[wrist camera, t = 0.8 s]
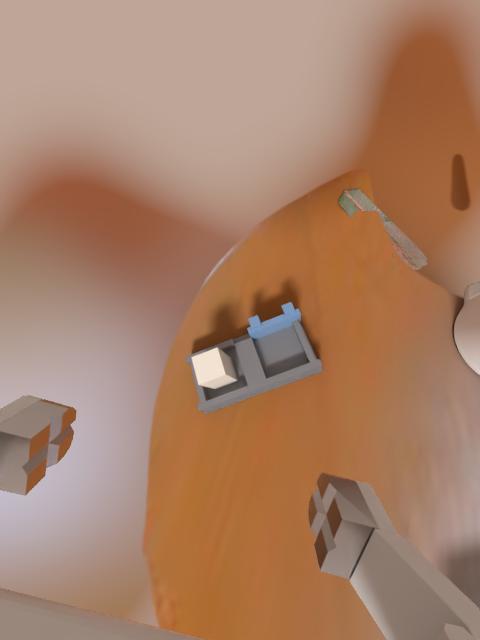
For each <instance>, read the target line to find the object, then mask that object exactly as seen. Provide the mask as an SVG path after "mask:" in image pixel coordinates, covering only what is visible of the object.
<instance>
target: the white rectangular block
mask: <svg viewBox="0 0 480 640" xmlns="http://www.w3.org/2000/svg"><path fill="white" fill-rule="evenodd" d="M191 358H192V362H193V366H194V370H195V373H196V377H197V381H198V385H201V386H205V387H209V388H213V389H218V388H221V387H224V386H226V385H229V384H232V383H234V382H237V381H238V377H237V374H236V371H235V368H234V365H233V362H232V359H231V357H229V356H228V355H227V354H225V353H224V352H223V351H222V350H220V349H219V348H218V347H217V348H214V349H212V350H209V351H207V352H204V353H201V354H199V355H196V356H194V357H191Z"/></svg>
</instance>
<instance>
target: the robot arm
mask: <svg viewBox="0 0 480 640" xmlns="http://www.w3.org/2000/svg"><path fill="white" fill-rule="evenodd" d="M454 338H455V342H456V345H457V348H458V350H459V352H460V354H461V356H462V357H463V359H464V360H465V361H466V363H467V364H468V365H469V366H470V367H471V368H472V369H473V370H474V371H475V372H476V373H478V374H479V375H480V282H477V283H474V284H471V285H469V286H468V287H467V288H466V289H465V293H464V305H463V308H462V309H461V311H460V313H459V314H458V316H457V318H456V321H455V325H454ZM75 419H76V410H75V409H74V408H73V407H69V406H65V405H62V404H59V403H55V402H52V401H48V400H45V399H44V400H43V399H40V398H36V397H33V396H23V397H21V398H19V399H17V400H16V401H14V402H12V403H10V404H9V405H7V406H5V407H3V408H1V409H0V490H3V491H7V492H12V493H16V494H21V495H26V494H27V493H28V492H29V491H30V490H31V489H32V488H33V487H34V486H35V485H36V484H37V483H38V482H39V481H40V480H41V479H42V478H43V477H44V476H45V471H46V468H47V467H50V466H52V465H55V464H57V463H58V461H60V460H61V459H62V458H63V457H64V455H65V454H66V452H67V450H68V449H69V447H70V445H71V442H72V439H73V434H74V431H73V429H72V427H71V426H70V424H71V423H72V422H73V421H74V420H75ZM317 485H318V490H317V491H315V492H314V493H312V496H311V498H310V501H309V509H308V517H309V524H310V529H311V530H312V531H313V533H314V534H315V535H316V537H317V538H316V541H315V543H314V546H315V551H316V555H317V560H318V564H319V568H320V571H323V572H326V573H330V574H333V575H337V576H340V577H343V578H347V579H350V583H351V584H352V586H353V587H354V589H355V590H356V592H357V594H358V595H359V597H360V598H361V600H362V601H363V603H364V604H365V606H366V608H367V609H368V611H369V612H370V614H371V615H372V617H373V619H374V620H375V622H376V623H377V625H378V626H379V628H380V630H381V631H382V633H383V634H384V636H385V637H386V639H387V640H480V609H479V608H478V607H477V606H476V605H475V604H474V603H473V602H472V601H471V600H470V599H469V598H468V597H467V596H466V595H465V594H464V593H463V592H462V591H461V590H459V589H458V588H457V587H456V586H455V585H454V584H453V583H452V582H451V581H450V580H449V579H448V578H447V577H446V576H445V575H444V574H443V573H442V572H441V571H440V570H439V569H437V568H436V567H435V566H434V565H433V564H432V563H431V562H430V561H429V560H428V559H427V558H426V557H425V556H424V555H423V554H422V553H421V552H420V551H419V550H418V549H417V548H415V547H414V546H413V545H412V544H411V543H410V542H409V541H408V540H407V539H406V538H405V537H404V536H401V535H398V533H397V532H396V530H395V528H394V526H393V524H392V522H391V521H390V519H389V517H388V515H387V513H386V511H385V510H384V508H383V506H382V504H381V502H380V500H379V499H378V497H377V495H376V493H375V491H374V490H373V488H372V486H371V485H370V484H368V483H365V482H361V481H356V480H350V479H346V478H342V477H338V476H334V475H330V474H327V473H323V472H322V473H321V474H320V476H319V478H318V480H317ZM0 640H207V639H203V638H199V637H195V636H191V635H187V634H183V633H179V632H175V631H171V630H167V629H163V628H159V627H155V626H151V625H147V624H142V623H139V622H135V621H131V620H126V619H123V618H119V617H115V616H111V615H107V614H103V613H99V612H95V611H91V610H87V609H83V608H79V607H75V606H71V605H67V604H63V603H59V602H55V601H51V600H47V599H43V598H39V597H35V596H31V595H27V594H23V593H19V592H15V591H11V590H7V589H3V588H0Z"/></svg>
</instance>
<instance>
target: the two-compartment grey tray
mask: <svg viewBox="0 0 480 640" xmlns="http://www.w3.org/2000/svg"><path fill="white" fill-rule="evenodd" d="M281 307H282V310H283V312H284V314H282V315H280V316H277V317H274V318H272V319H269V320H267V321H264V322H262V323H261V322H260V320H259V317H258V315H256V316H254V317H251V318H249V319H248V320H249V323H250V326H251V327H249V328H247V330H248V334H245V335H243V336H240V337H238V338H235V339H230V340H227V341H224V342H222V343H219V344H217V345H214V346H212V347H209V348H206V349H204V350H201V351H199V352H196V353H194V354H191V355H188V356H186V361H187V363H190V365H191V369H192V373H193V377H194V381H195V385H196V389H197V393H198V397H199V401H200V403H199V404H197V406H198V410H199V411H203V412H204V414H207V413H210V412H212V411H215V410H218V409H221V408H223V407H226V406H229V405H232V404H234V403H237V402H240V401H243V400H245V399H248V398H251V397H253V396H256V395H259V394H262V393H264V392H267V391H270V390H273V389H275V388H278V387H281V386H283V385H286V384H289V383H292V382H294V381H297V380H300V379H303V378H305V377H308V376H311V375H314V374H316V373H319V372H322V371H323V370H322V368H321V367H322V363H321V361H320V359H317V357H316V354H315V352H314V350H313V348H312V346H311V344H310V341H309V339H308V337H307V335H306V333H305V330H304V328H303V326H302V324H301V313H300V311H299V309H294V307H293V305H292V303H291V302H289V303H287V304H284V305H282V306H281ZM217 347H218V348H219V349H220V350H222V351H223V352H224V353H225V354H227V355H228V356H229V357H231V359H232V362H233V365H234V368H235V371H236V374H237V377H238V381H237V382H234V383H232V384H229V385H226V386H224V387H221V388H218V389H213V388H209V387H205V386H201V385H198V381H197V377H196V373H195V370H194V366H193V362H192V358H191V357H194V356H196V355H199V354H201V353H204V352H207V351H209V350H212V349H214V348H217Z"/></svg>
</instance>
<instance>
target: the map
mask: <svg viewBox="0 0 480 640" xmlns="http://www.w3.org/2000/svg"><path fill="white" fill-rule="evenodd" d="M339 204H340V205H341V206H342V208H343V209H344V210H345V211H346V212H347V214H348V215H349V216H350V217H353V214H354V213H355V212H356V211H357V210H359V211H361V210H364V211H365V210H366V211H367V210H369V211H372V212H373V211H378V214H379V216H380V218H381V221H382V223H383V225H384V227H385V229H386V231H387V233H388V235H389V237H390V239H391V242H392V244H393V246H394V248H395V249H396V251H397V253H398V254H399V256H400V257H401V258H402V259H403V260H404V261H405V262H406V263H407V265H409V266H410V267H411V268H412V269H414V270H418V269H420V268H422V266H424V265H427V262H426V259H427V258H426V256H425V255H424V254H423V253H422V251H420V249H419V248H418V247H417V246H416V245H415V244H414V243H413V241H411V240H410V239H409V238H408V237H407V236H406V235H405V234H404V233H403V232H402V231H401V230H400V229H399V228H398V227H397V226H396V225H395V224H394V223H393V222H392V221H391V220H390V219H389V218H388V217H387V216H386V215H385V214H383V213H382V211H381V210H379V208H377V207H376V206H375V205H374V204H373V203H372V202H371V201H370V200H369V199H368V198H367V197H366V196H365V195H364V194H363V192H362V191H361V190H360V189H356V190H354V189H353V190H348V191H346V190H345V192H344V193H343V195H342V196H341V198H339ZM358 207H359V208H360V209H359V208H358ZM366 211H365V212H366ZM394 255H395V254H394ZM394 255H393V257H394Z"/></svg>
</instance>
